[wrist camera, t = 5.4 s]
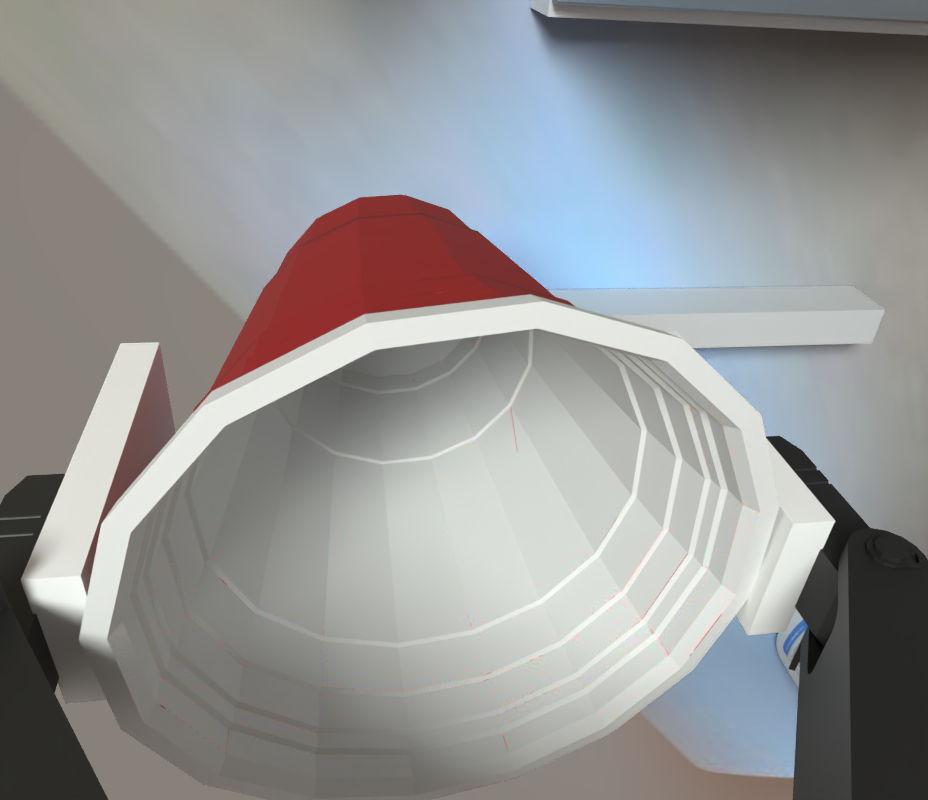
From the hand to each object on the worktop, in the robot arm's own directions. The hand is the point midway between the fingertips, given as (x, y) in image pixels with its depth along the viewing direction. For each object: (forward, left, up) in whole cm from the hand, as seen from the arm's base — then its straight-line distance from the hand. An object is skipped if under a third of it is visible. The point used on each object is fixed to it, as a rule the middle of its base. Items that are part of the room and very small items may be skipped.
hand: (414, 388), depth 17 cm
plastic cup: (0, 0, -5) cm, 5 cm away
